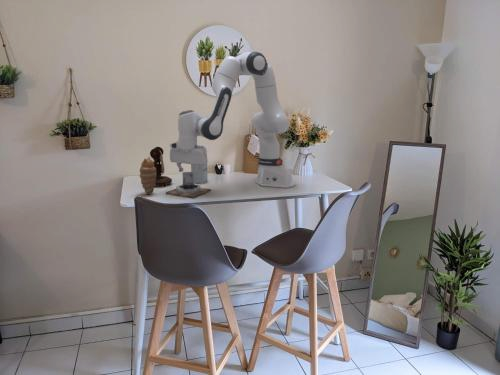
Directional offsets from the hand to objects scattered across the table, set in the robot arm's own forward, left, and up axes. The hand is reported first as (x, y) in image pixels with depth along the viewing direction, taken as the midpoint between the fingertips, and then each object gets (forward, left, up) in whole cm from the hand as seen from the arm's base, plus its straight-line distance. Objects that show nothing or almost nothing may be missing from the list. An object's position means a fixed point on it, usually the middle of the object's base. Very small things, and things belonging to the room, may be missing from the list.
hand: (189, 172), depth 195 cm
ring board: (0, 0, -10) cm, 10 cm away
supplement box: (+8, -22, -11) cm, 25 cm away
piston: (0, 0, -9) cm, 9 cm away
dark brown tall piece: (+24, -6, -11) cm, 27 cm away
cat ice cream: (+15, +12, -10) cm, 22 cm away
